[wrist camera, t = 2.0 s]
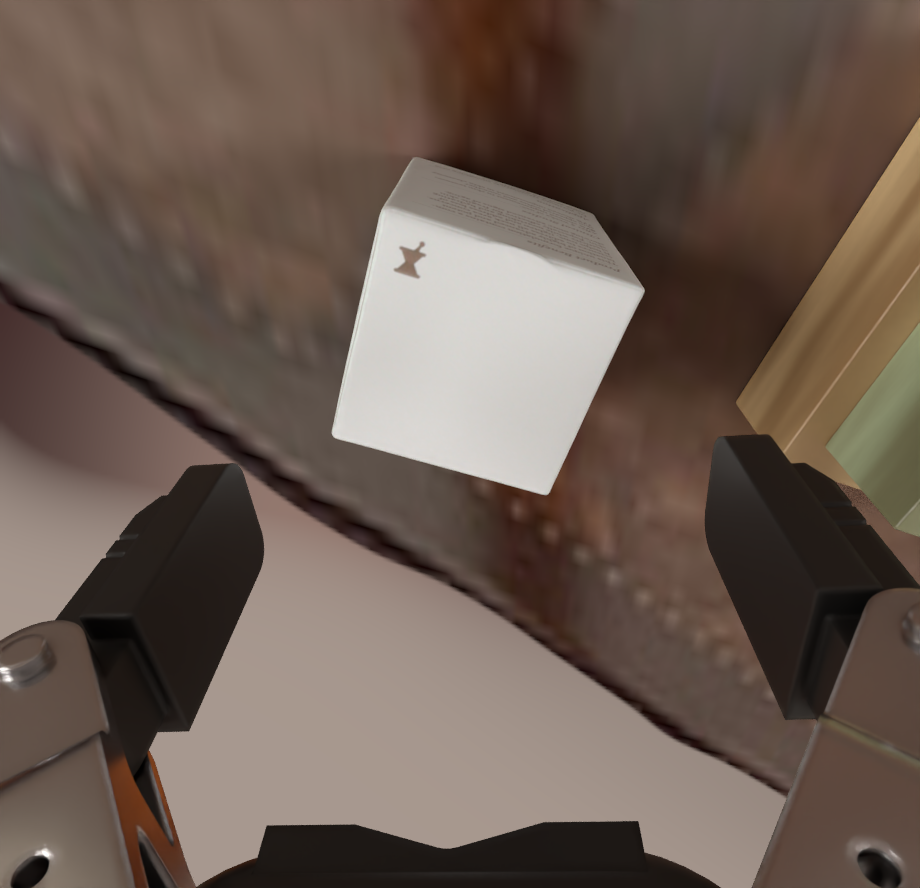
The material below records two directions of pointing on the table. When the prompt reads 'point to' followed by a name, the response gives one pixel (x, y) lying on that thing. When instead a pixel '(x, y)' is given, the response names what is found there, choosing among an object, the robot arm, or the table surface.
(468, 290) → the product box
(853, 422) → the block stack
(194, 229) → the table surface
